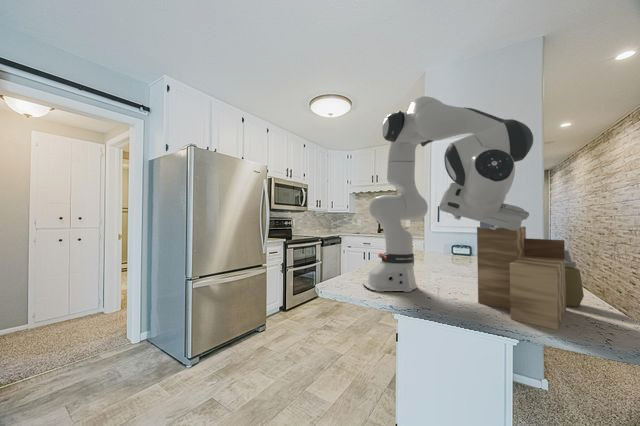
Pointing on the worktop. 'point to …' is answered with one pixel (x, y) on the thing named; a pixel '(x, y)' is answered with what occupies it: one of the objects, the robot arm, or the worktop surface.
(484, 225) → the blue-grey bar
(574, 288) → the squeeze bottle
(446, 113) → the robot arm
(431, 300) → the worktop surface
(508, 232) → the stepped wooden blocks
